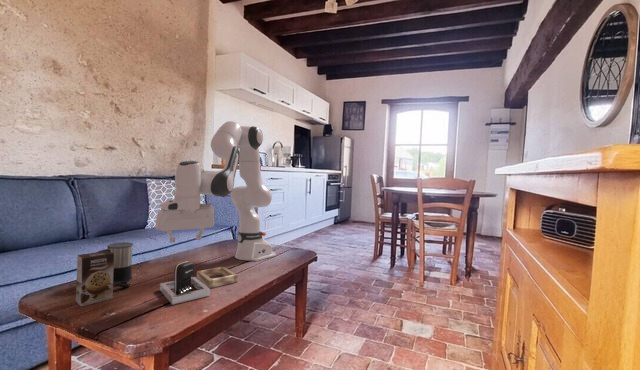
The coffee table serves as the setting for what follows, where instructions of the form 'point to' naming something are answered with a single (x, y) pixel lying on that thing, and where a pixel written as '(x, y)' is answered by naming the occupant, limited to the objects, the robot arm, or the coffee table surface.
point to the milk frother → (121, 263)
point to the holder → (175, 299)
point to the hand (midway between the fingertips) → (185, 240)
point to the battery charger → (183, 277)
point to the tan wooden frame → (210, 283)
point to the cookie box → (94, 277)
